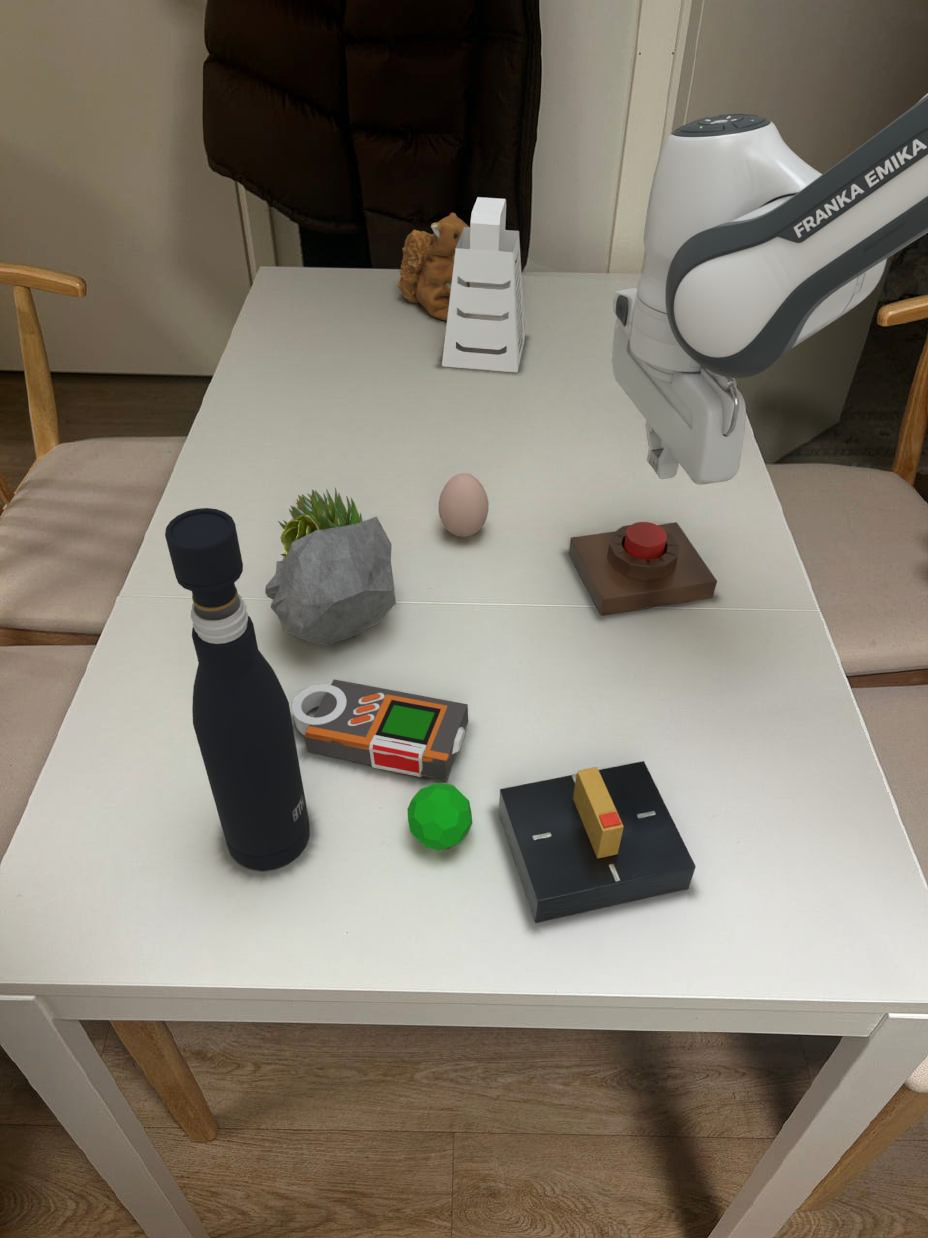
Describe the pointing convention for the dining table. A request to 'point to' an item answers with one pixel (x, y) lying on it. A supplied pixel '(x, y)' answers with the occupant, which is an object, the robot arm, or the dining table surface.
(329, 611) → the potted plant
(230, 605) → the insulated water bottle
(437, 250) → the stuffed squirrel
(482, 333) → the grater
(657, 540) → the button
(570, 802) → the block
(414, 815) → the polyhedron
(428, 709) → the electronic device
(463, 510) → the egg
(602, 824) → the tap handle
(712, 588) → the button block
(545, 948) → the dining table surface
